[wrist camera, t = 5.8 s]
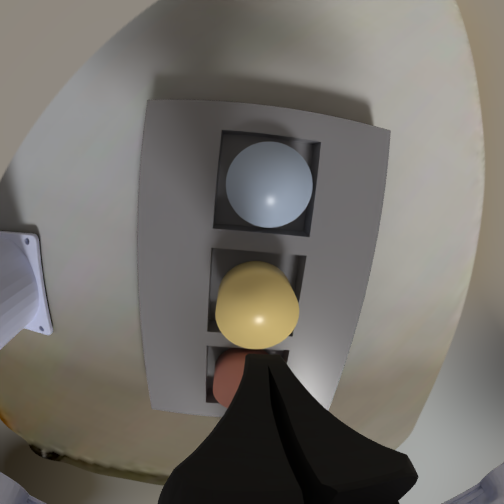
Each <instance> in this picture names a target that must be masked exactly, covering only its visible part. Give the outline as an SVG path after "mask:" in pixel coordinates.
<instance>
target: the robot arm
mask: <svg viewBox="0 0 504 504" xmlns="http://www.w3.org/2000/svg"><path fill="white" fill-rule="evenodd" d="M28 239H29V242H28ZM42 327H43V328H44V329H43V328H42ZM23 328H25V329H28V330H32V331H35V332H39V333H42V334H46V335H50V334H51V333H52V332H53V328H52V323H51V319H50V314H49V309H48V304H47V299H46V293H45V287H44V280H43V273H42V265H41V256H40V246H39V238H38V236H37V235H36V234H33V233H21V232H9V231H0V350H1V349H2V348H3V347H4V346H5V345H6V344H7V343H8V342H9V341H10V340H11V339H12V338H13V337H14V336H15V335H16V334H17V333H19V332H20V331H21V330H22V329H23ZM417 479H418V475H417V472H416V470H415V468H414V467H413V465H412V463H411V461H410V459H409V458H408V456H407V455H406V454H403V453H400V452H397V451H395V450H393V449H390V448H387V447H385V446H383V445H380V444H378V443H376V442H374V441H372V440H370V439H368V438H366V437H365V436H363V435H361V434H359V433H358V432H356V431H355V430H353V429H352V428H350V427H348V426H347V425H345V424H344V423H343V422H341V421H340V420H339V419H337V418H336V417H335V416H334V415H332V414H331V413H330V412H329V411H328V410H326V409H325V408H324V407H323V406H322V405H321V404H320V403H319V402H318V401H317V400H316V399H315V398H314V397H313V396H312V395H311V394H310V393H309V392H308V390H307V389H306V388H305V387H304V386H303V385H302V383H301V382H300V381H299V380H298V378H297V377H296V376H295V375H294V373H293V372H292V371H291V369H290V368H289V367H288V365H287V364H286V362H285V361H284V359H283V358H282V357H281V356H280V355H268V354H247V355H246V356H245V364H244V371H243V376H242V379H241V382H240V384H239V387H238V389H237V391H236V393H235V395H234V397H233V399H232V401H231V403H230V405H229V407H228V409H227V410H226V412H225V414H224V415H223V417H222V418H221V420H220V421H219V422H218V424H217V425H216V427H215V428H214V429H213V431H212V432H211V433H210V434H209V436H208V437H207V438H206V439H205V440H204V441H203V442H202V443H201V444H200V446H199V447H198V448H197V449H196V450H195V451H194V452H193V453H192V454H191V455H190V456H189V457H187V458H186V459H185V460H184V461H183V462H182V463H180V464H179V465H178V466H177V467H176V468H175V469H174V470H173V472H172V473H171V475H170V476H169V478H168V480H167V482H166V483H165V485H164V487H163V489H162V491H161V494H160V497H159V500H158V504H399V502H398V500H399V499H401V498H402V497H403V496H404V495H405V494H406V493H407V492H408V491H409V490H410V489H411V488H412V487H413V486H414V485H415V483H416V481H417ZM0 504H46V503H44V502H42V501H40V500H38V499H36V498H34V497H32V496H30V495H29V494H28V493H27V491H26V490H25V489H24V488H23V487H22V486H20V485H19V484H18V483H16V482H15V481H14V480H12V479H10V478H9V477H7V476H6V475H4V474H3V473H1V472H0ZM442 504H504V463H502V464H501V465H499V466H498V467H496V468H495V469H493V470H492V471H491V472H490V473H488V474H487V475H486V476H485V477H484V478H483V479H482V480H481V481H480V483H478V484H477V485H475V486H473V487H472V488H470V489H468V490H466V491H465V492H463V493H461V494H459V495H457V496H456V497H454V498H452V499H450V500H448V501H446V502H444V503H442Z"/></svg>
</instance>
